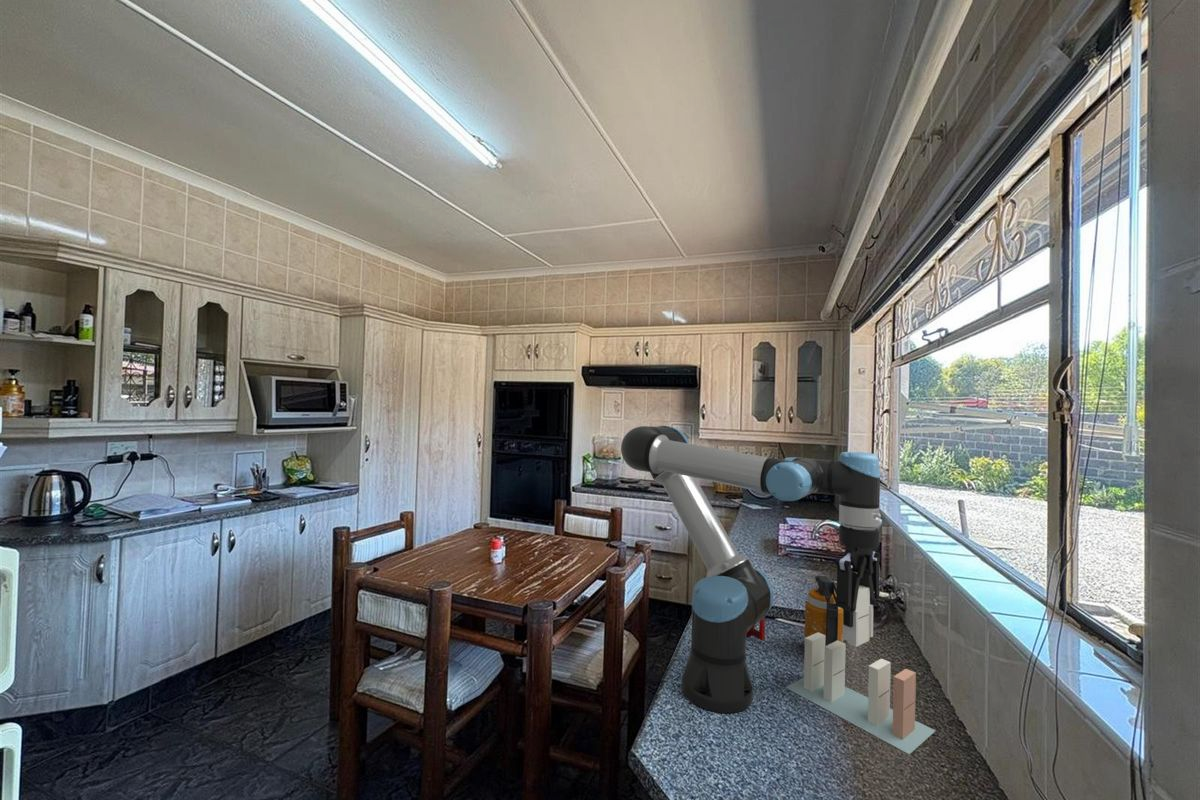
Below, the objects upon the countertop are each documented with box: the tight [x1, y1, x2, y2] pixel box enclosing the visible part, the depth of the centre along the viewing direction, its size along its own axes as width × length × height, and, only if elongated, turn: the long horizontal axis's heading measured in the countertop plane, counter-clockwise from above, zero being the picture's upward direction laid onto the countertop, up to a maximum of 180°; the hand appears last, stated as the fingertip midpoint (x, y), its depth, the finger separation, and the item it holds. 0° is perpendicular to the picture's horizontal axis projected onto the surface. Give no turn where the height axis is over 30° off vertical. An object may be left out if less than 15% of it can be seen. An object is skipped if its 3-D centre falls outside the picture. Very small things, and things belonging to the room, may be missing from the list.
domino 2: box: [823, 640, 847, 702], centre depth 104 cm, size 2×5×11 cm, turn 126°
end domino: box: [892, 668, 917, 740], centre depth 93 cm, size 2×5×11 cm, turn 126°
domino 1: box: [803, 632, 825, 692], centre depth 108 cm, size 2×5×11 cm, turn 126°
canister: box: [803, 575, 844, 652], centre depth 121 cm, size 9×11×20 cm
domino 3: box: [846, 585, 871, 648], centre depth 100 cm, size 2×5×11 cm, turn 124°
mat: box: [785, 677, 937, 755], centre depth 100 cm, size 25×12×1 cm, turn 36°
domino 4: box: [867, 658, 892, 726], centre depth 97 cm, size 2×5×11 cm, turn 126°
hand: (858, 637), depth 100 cm, fingers closed on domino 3, 5 cm apart
